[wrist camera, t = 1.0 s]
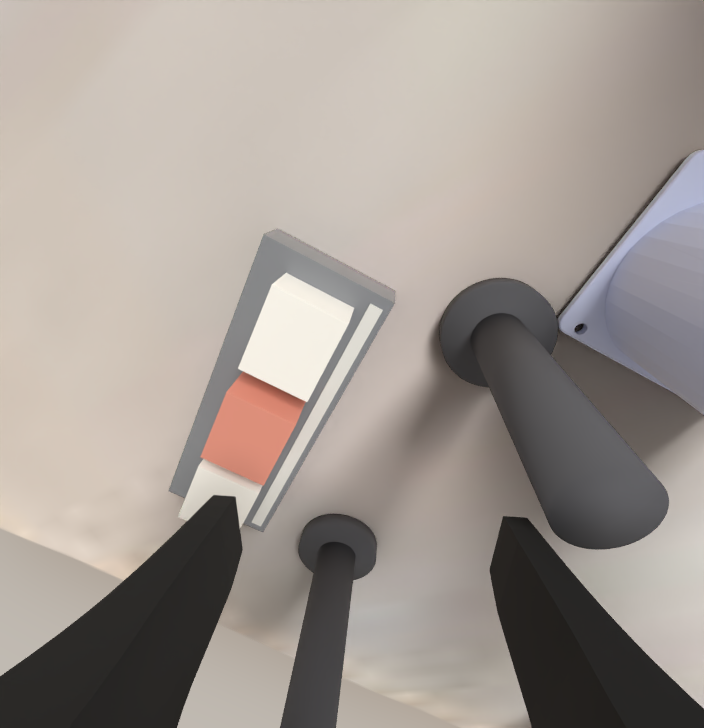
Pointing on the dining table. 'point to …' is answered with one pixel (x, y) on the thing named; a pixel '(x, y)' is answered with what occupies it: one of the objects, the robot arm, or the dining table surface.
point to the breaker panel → (244, 326)
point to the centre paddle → (252, 428)
